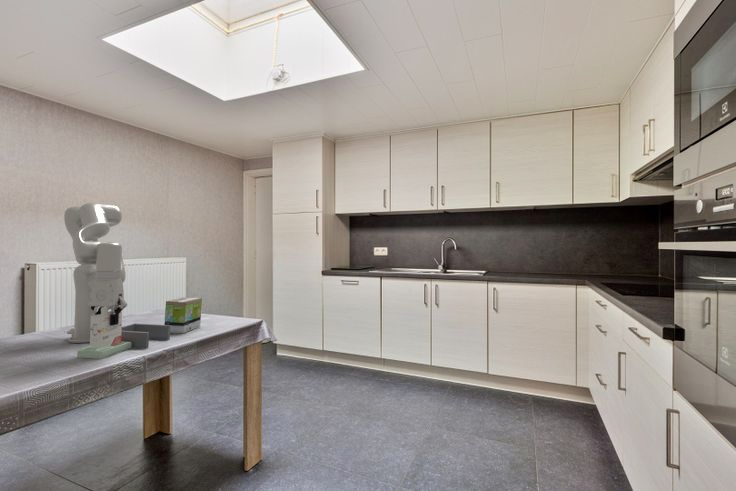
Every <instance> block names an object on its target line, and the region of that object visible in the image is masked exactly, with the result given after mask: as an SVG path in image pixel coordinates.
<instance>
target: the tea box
mask: <svg viewBox="0 0 736 491" xmlns="http://www.w3.org/2000/svg"><path fill="white" fill-rule="evenodd" d="M202 301H203V299H202V298H201V297H186V296H185V297H180V298H174V299H171V300H170V299H169V300H166V301H165V309H164V311H165V312H164V322H163V323H164V324H163V325H170V334H185V333H188V332H189V331H191V330H194V329H197V328H200V327H201V320H202V303H203V302H202Z"/></svg>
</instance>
